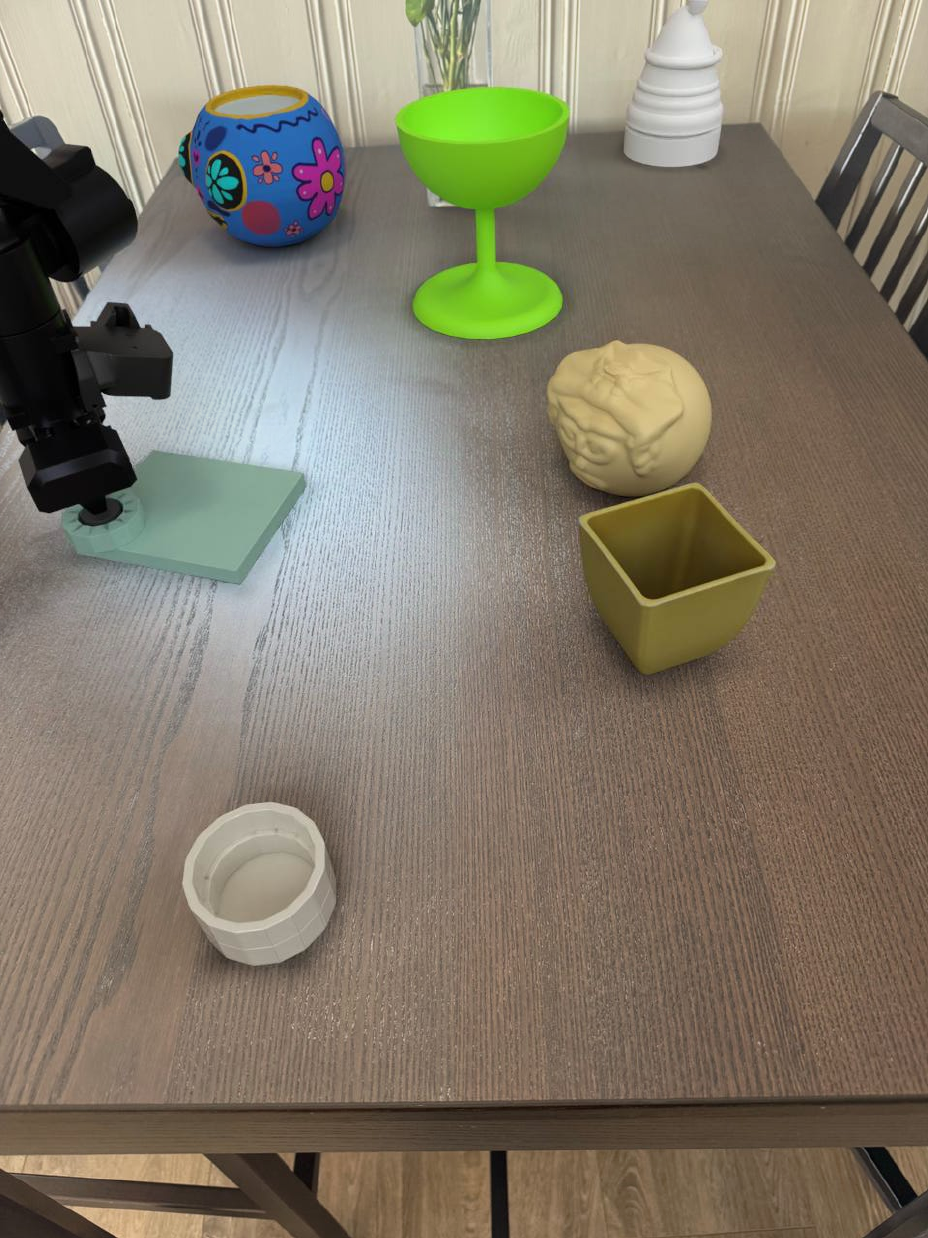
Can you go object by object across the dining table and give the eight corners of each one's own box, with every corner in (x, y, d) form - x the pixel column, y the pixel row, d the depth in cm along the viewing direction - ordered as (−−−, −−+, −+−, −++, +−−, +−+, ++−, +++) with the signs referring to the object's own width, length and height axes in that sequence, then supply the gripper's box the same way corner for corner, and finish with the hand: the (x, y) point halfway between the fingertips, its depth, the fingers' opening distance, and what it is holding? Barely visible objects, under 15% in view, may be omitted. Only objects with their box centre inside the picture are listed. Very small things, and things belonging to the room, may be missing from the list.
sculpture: (524, 470, 72) (525, 351, 64) (624, 413, 77) (636, 296, 69) (627, 537, 65) (642, 414, 58) (729, 470, 70) (755, 349, 63)
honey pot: (737, 152, 119) (764, -7, 106) (663, 174, 115) (681, 11, 102) (676, 128, 127) (694, -24, 114) (604, 147, 123) (614, -8, 110)
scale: (61, 559, 67) (45, 529, 64) (148, 461, 75) (137, 432, 73) (235, 592, 63) (225, 562, 61) (306, 486, 72) (299, 456, 69)
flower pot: (569, 614, 60) (575, 514, 54) (680, 580, 62) (699, 478, 56) (629, 708, 54) (644, 607, 48) (750, 666, 56) (780, 564, 50)
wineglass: (393, 332, 89) (372, 140, 76) (434, 263, 99) (421, 84, 86) (548, 345, 86) (554, 147, 73) (573, 272, 96) (582, 88, 83)
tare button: (80, 534, 66) (73, 518, 65) (101, 511, 68) (94, 496, 67) (112, 540, 65) (105, 524, 64) (132, 517, 67) (126, 501, 66)
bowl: (182, 949, 45) (156, 910, 42) (243, 832, 50) (223, 789, 46) (306, 986, 43) (289, 949, 40) (357, 862, 48) (345, 819, 45)
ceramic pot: (188, 233, 108) (151, 98, 97) (315, 197, 115) (294, 66, 104) (244, 283, 98) (210, 138, 87) (381, 241, 104) (365, 100, 93)
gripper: (179, 343, 51) (241, 544, 62) (109, 232, 62) (171, 419, 74) (-20, 399, 48) (83, 601, 59) (-56, 271, 59) (36, 460, 70)
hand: (99, 510), depth 66 cm, fingers closed, pressing on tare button
